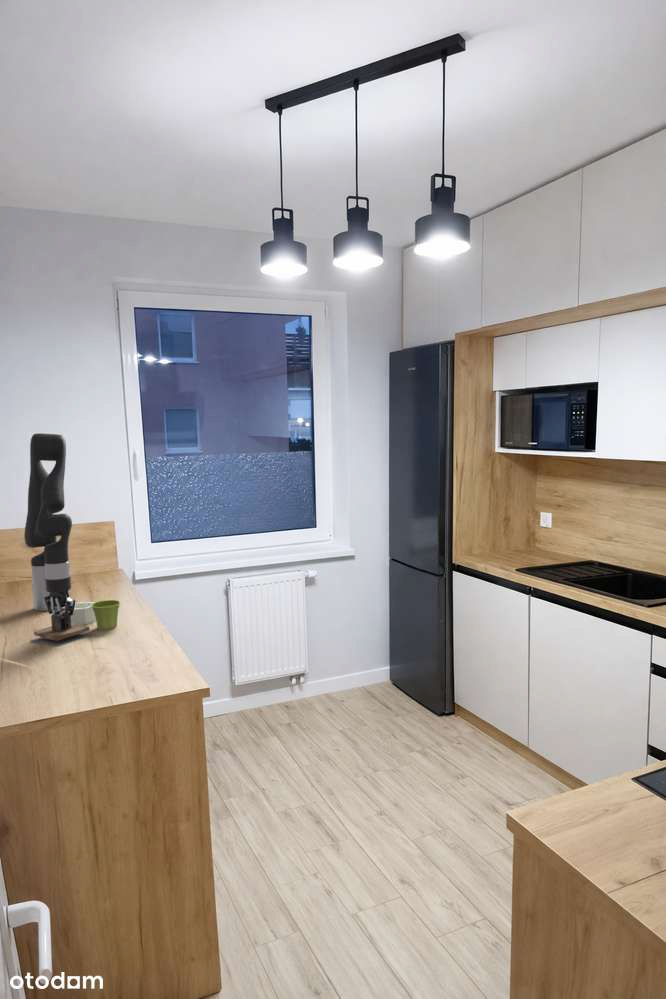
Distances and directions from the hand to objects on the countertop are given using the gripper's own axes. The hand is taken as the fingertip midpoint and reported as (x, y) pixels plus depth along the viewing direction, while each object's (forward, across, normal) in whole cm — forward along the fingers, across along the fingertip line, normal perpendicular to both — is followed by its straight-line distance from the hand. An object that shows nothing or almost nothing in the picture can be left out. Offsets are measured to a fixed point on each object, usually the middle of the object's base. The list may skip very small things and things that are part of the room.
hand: (61, 627), depth 211 cm
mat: (+4, 0, 0) cm, 4 cm away
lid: (+2, 0, 0) cm, 2 cm away
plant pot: (+4, -4, -14) cm, 15 cm away
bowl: (+4, +11, -15) cm, 19 cm away
